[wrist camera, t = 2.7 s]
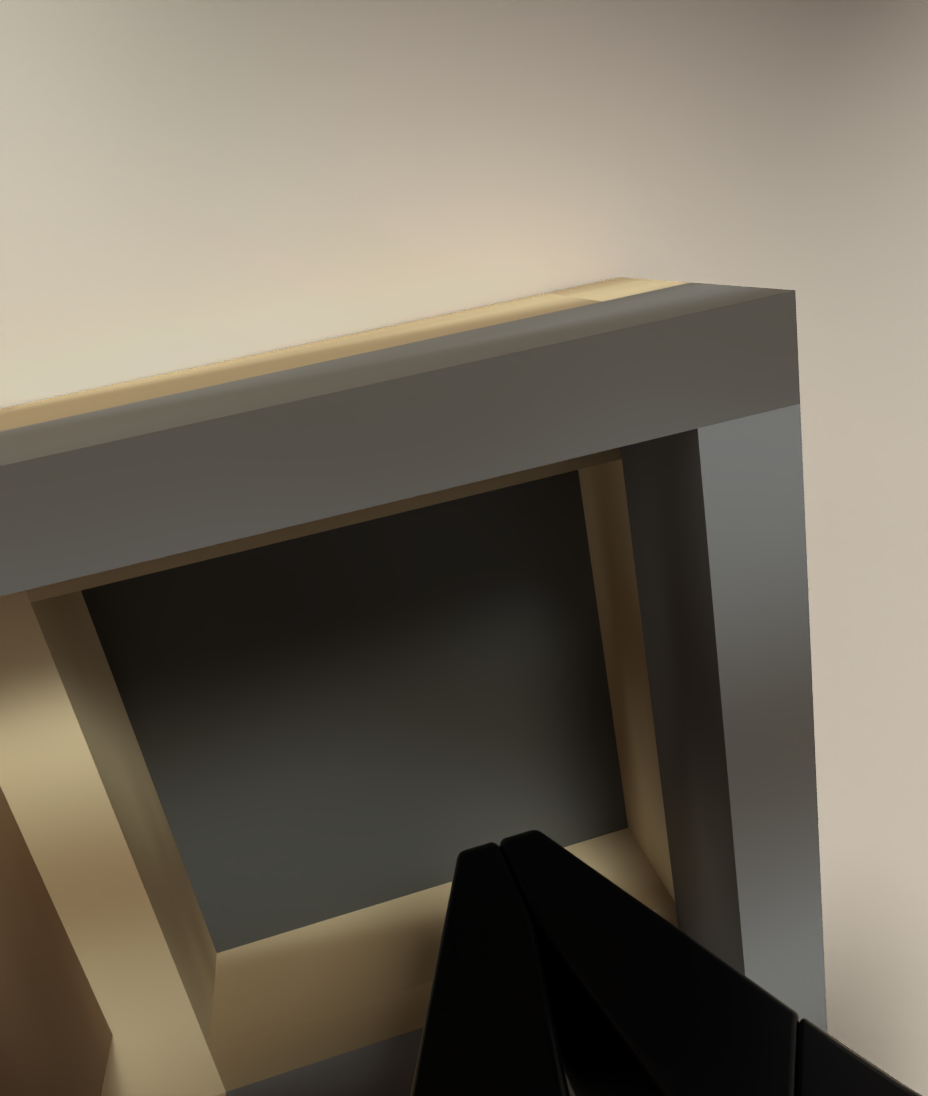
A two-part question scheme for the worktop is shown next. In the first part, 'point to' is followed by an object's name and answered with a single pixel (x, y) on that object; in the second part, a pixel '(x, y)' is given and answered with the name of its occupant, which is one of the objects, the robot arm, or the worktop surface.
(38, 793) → the box
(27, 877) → the walnut block
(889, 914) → the worktop surface
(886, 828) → the worktop surface
